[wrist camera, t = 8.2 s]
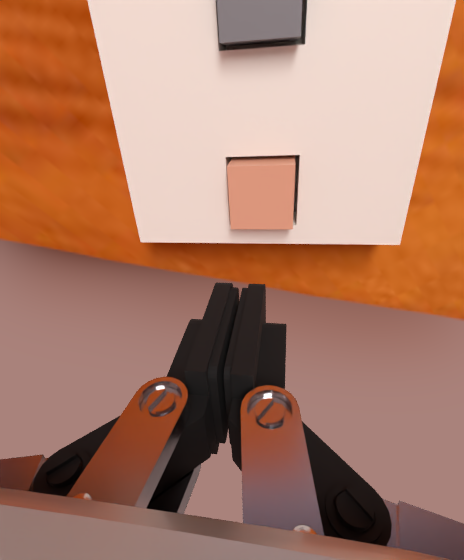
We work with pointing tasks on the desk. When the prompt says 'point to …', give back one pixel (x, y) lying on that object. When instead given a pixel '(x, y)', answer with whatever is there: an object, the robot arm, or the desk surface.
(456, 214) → the desk surface
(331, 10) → the key console
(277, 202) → the terracotta key
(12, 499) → the robot arm
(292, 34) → the grey key
